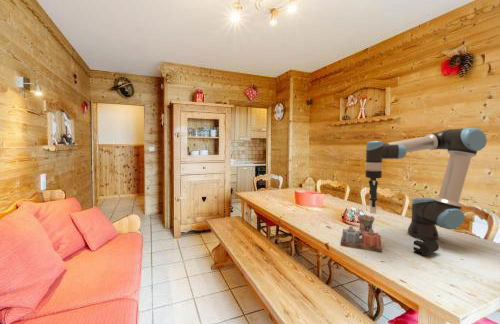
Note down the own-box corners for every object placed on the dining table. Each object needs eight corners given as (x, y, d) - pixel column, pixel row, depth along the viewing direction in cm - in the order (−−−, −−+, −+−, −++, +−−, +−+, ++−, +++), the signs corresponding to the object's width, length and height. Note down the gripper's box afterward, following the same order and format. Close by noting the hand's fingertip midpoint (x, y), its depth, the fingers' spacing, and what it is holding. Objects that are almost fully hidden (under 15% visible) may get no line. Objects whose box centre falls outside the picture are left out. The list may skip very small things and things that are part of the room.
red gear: (375, 239, 131) (375, 231, 131) (383, 246, 122) (383, 237, 122) (359, 239, 132) (359, 231, 131) (366, 246, 123) (366, 237, 122)
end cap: (428, 258, 114) (429, 245, 113) (412, 252, 120) (413, 240, 119) (438, 254, 118) (439, 241, 118) (423, 248, 125) (423, 236, 124)
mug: (377, 236, 141) (378, 219, 141) (364, 237, 140) (364, 220, 139) (364, 229, 153) (364, 213, 152) (351, 230, 151) (351, 214, 150)
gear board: (380, 244, 129) (381, 227, 129) (382, 252, 120) (382, 233, 120) (341, 238, 138) (342, 222, 137) (340, 245, 129) (341, 227, 128)
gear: (359, 238, 133) (359, 229, 133) (359, 244, 125) (359, 235, 125) (343, 235, 137) (343, 227, 137) (341, 241, 129) (342, 232, 129)
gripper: (365, 167, 137) (364, 203, 138) (366, 172, 114) (365, 215, 116) (379, 168, 134) (378, 204, 135) (383, 173, 111) (382, 216, 113)
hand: (372, 209), depth 126 cm, fingers open, 13 cm apart
